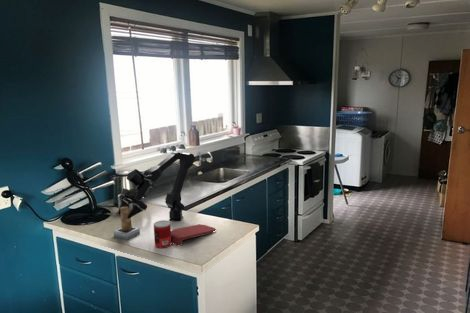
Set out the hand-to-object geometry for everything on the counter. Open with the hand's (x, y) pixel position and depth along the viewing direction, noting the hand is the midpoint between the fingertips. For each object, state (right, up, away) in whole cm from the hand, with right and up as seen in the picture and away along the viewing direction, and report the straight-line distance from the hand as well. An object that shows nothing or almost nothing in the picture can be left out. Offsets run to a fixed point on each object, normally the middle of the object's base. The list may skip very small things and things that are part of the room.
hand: (123, 216), depth 186 cm
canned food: (+22, -13, -9) cm, 27 cm away
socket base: (+1, -10, +3) cm, 11 cm away
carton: (+35, -11, +2) cm, 36 cm away
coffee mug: (-9, -3, +42) cm, 43 cm away
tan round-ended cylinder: (+1, -9, +3) cm, 9 cm away
